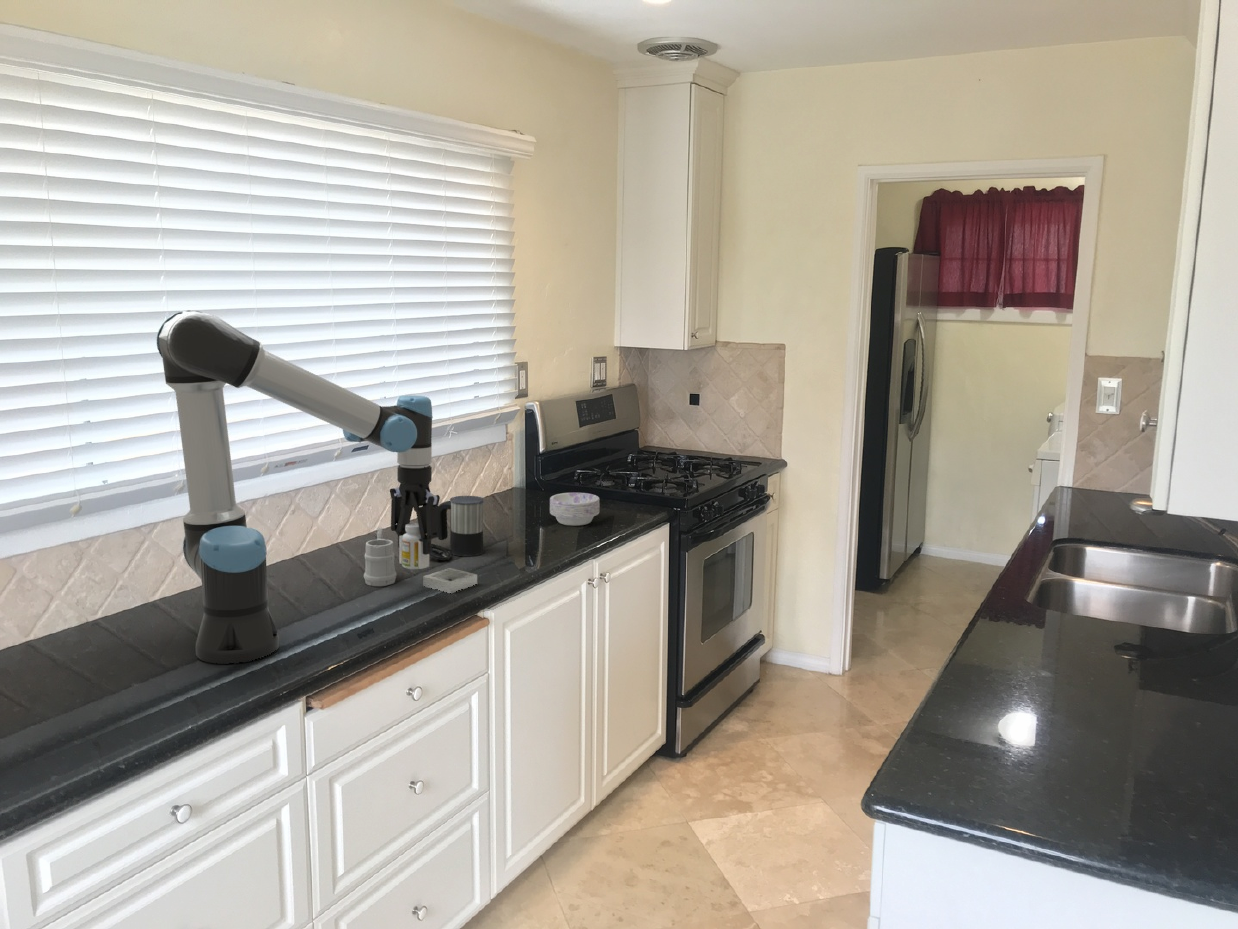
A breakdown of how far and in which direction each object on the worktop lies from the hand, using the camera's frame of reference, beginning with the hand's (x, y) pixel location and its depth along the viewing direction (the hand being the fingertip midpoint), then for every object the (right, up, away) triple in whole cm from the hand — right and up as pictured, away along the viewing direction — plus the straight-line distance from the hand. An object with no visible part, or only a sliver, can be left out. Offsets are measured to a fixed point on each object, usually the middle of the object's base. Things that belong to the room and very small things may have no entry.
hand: (414, 564), depth 219 cm
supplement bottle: (0, -1, 0) cm, 1 cm away
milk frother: (+3, -1, +37) cm, 37 cm away
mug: (-11, -5, +14) cm, 19 cm away
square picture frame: (+6, -6, +11) cm, 14 cm away
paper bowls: (+33, +5, +75) cm, 82 cm away
